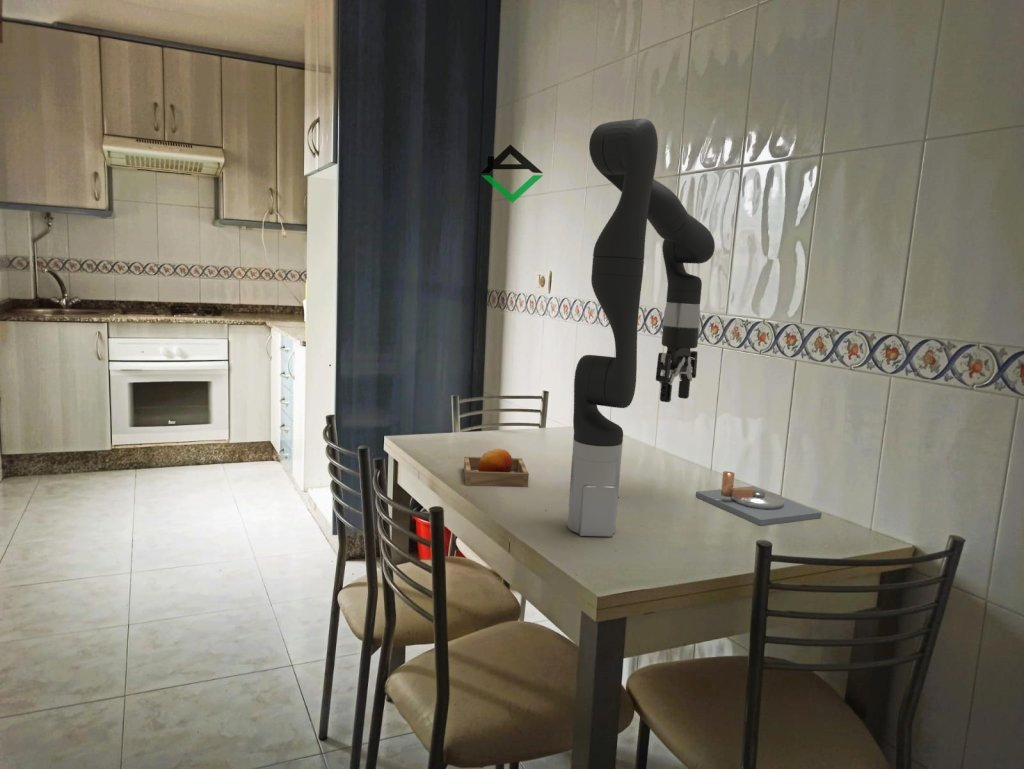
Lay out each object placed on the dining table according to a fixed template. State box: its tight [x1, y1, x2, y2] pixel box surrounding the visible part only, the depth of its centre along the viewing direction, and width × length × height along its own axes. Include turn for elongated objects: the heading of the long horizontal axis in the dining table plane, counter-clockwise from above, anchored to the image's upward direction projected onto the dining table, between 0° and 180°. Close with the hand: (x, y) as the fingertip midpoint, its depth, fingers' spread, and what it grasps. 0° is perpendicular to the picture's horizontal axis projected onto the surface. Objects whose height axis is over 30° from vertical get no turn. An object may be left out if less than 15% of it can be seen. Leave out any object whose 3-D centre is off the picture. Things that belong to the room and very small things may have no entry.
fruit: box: [477, 448, 513, 472], centre depth 174 cm, size 8×8×8 cm
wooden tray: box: [463, 456, 530, 488], centre depth 174 cm, size 14×14×3 cm
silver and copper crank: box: [721, 470, 785, 509], centre depth 162 cm, size 14×11×6 cm
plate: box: [695, 485, 822, 527], centre depth 163 cm, size 20×17×2 cm
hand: (674, 399), depth 161 cm, fingers open, 8 cm apart
